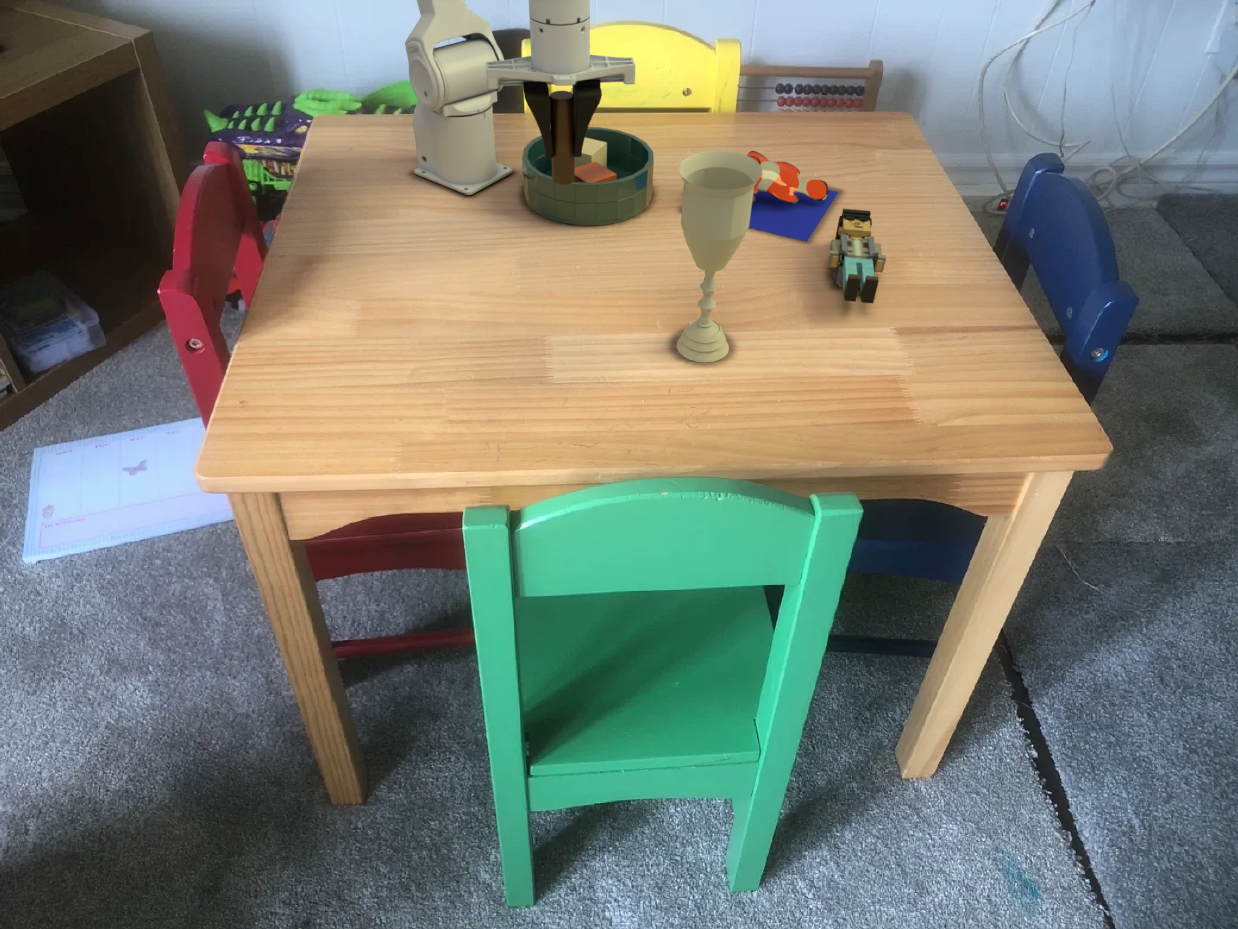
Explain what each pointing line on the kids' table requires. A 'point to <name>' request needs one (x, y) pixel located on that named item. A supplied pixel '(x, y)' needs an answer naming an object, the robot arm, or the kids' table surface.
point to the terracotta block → (593, 173)
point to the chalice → (714, 234)
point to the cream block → (592, 153)
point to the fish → (787, 200)
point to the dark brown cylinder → (562, 136)
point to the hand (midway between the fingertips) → (562, 153)
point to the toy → (856, 256)
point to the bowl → (592, 199)
